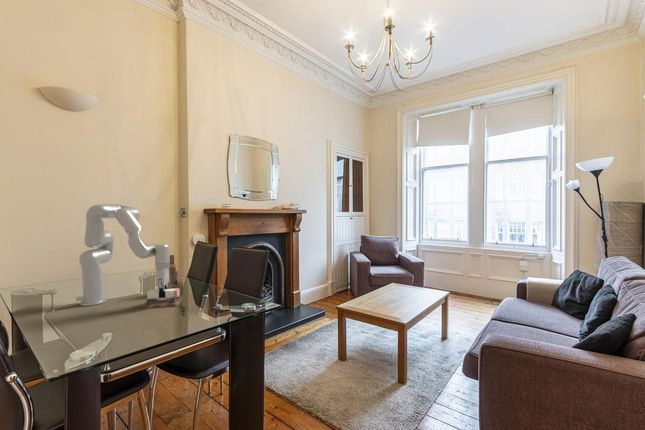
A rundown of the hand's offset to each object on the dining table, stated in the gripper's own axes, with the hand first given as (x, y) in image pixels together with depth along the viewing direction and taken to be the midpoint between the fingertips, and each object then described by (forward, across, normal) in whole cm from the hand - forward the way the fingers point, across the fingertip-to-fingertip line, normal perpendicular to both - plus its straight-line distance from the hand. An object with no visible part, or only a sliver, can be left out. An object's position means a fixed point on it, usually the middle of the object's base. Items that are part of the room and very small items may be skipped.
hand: (163, 296), depth 178 cm
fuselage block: (+1, 0, 0) cm, 1 cm away
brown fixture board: (+4, 0, 0) cm, 4 cm away
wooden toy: (+5, -24, 0) cm, 24 cm away
